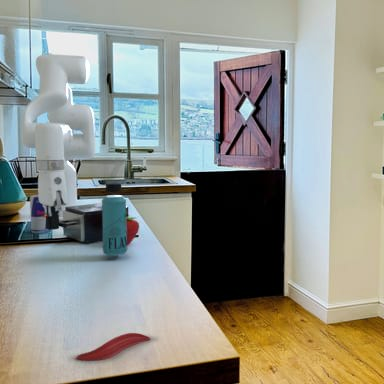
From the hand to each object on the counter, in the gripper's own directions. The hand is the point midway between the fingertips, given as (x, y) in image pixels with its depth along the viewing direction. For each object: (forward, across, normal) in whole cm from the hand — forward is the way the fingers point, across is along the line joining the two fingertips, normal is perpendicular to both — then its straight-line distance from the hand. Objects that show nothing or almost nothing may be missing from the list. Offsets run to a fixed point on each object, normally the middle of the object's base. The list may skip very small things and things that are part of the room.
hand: (52, 228), depth 140 cm
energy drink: (+4, +19, -4) cm, 20 cm away
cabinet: (+4, +1, -14) cm, 15 cm away
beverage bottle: (+5, -25, -6) cm, 26 cm away
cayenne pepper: (+6, -72, +20) cm, 75 cm away
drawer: (+4, +1, -10) cm, 11 cm away
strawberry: (+5, -14, -16) cm, 22 cm away
